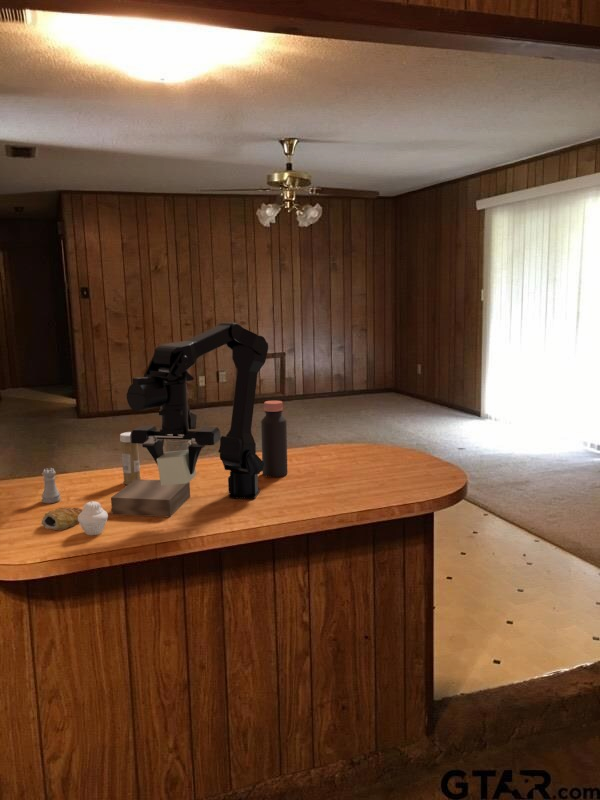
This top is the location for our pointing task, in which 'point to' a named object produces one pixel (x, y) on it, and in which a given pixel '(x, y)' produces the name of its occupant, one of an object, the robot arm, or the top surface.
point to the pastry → (61, 518)
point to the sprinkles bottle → (129, 459)
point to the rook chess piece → (50, 487)
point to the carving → (176, 444)
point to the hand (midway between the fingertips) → (177, 473)
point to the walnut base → (150, 498)
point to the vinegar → (274, 440)
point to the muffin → (92, 518)
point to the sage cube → (175, 468)
